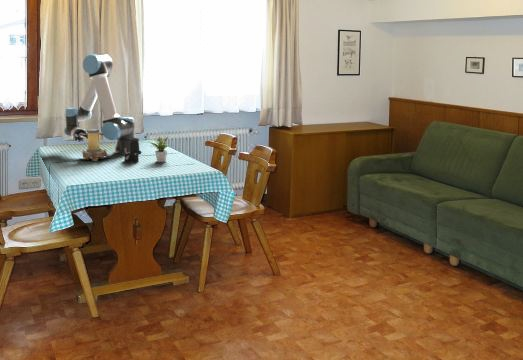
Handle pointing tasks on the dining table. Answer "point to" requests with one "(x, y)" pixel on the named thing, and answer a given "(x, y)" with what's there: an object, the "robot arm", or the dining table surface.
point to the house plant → (160, 149)
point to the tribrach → (94, 155)
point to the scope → (133, 151)
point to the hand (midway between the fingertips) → (95, 138)
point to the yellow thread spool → (93, 141)
